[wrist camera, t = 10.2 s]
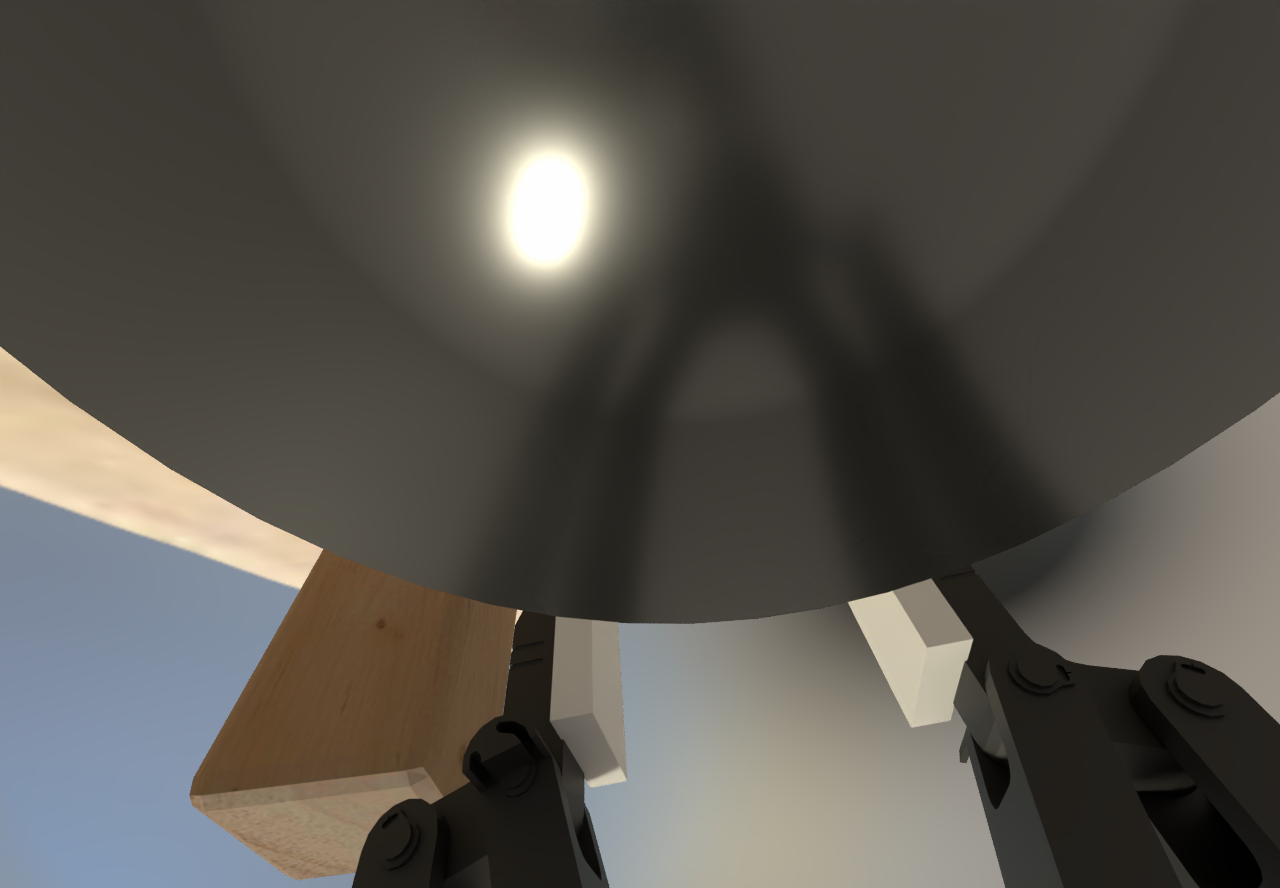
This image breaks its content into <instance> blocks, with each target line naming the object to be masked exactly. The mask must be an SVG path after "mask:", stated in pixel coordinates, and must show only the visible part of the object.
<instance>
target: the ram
mask: <svg viewBox="0 0 1280 888" xmlns="http://www.w3.org/2000/svg"><path fill="white" fill-rule="evenodd" d="M0 346H1V347H2V348H3V349H4V350H6V351H7V352H8V353H9V354H11V355H12V356H13V357H14V358H16V359H17V360H18V361H19V362H21V363H22V364H23V365H25V366H26V367H27V368H28V369H30V370H31V371H32V372H33V373H35V374H36V375H37V376H38V377H40V378H41V379H42V380H44V381H45V382H46V383H47V384H49V385H50V386H51V387H52V388H54V389H55V390H56V391H57V392H59V393H60V394H61V395H63V396H64V397H65V398H66V399H68V400H69V401H70V402H72V403H73V404H75V405H76V406H78V407H79V408H81V409H82V410H84V411H85V412H87V413H88V414H90V415H91V416H93V417H94V418H95V419H97V420H98V421H100V422H101V423H103V424H104V425H106V426H107V427H109V428H110V429H112V430H113V431H115V432H116V433H118V434H119V435H121V436H122V437H124V438H125V439H127V440H128V441H130V442H131V443H133V444H134V445H136V446H137V447H138V448H140V449H141V450H143V451H144V452H146V453H147V454H149V455H150V456H152V457H153V458H155V459H156V460H158V461H159V462H161V463H162V464H164V465H165V466H167V467H168V468H170V469H171V470H173V471H175V472H177V473H179V474H180V475H182V476H184V477H186V478H187V479H189V480H191V481H193V482H194V483H196V484H198V485H200V486H202V487H203V488H205V489H207V490H209V491H210V492H212V493H214V494H216V495H217V496H219V497H221V498H223V499H225V500H226V501H228V502H230V503H232V504H233V505H235V506H237V507H239V508H241V509H242V510H244V511H246V512H248V513H249V514H251V515H253V516H255V517H256V518H258V519H260V520H262V521H264V522H267V523H269V524H271V525H273V526H275V527H277V528H280V529H282V530H284V531H286V532H288V533H290V534H293V535H295V536H297V537H299V538H301V539H303V540H306V541H308V542H310V543H312V544H314V545H316V546H319V547H321V548H323V549H325V550H327V551H329V552H332V553H334V554H336V555H338V556H340V557H342V558H345V559H348V560H351V561H353V562H356V563H359V564H362V565H364V566H367V567H370V568H373V569H375V570H378V571H381V572H384V573H387V574H389V575H392V576H395V577H398V578H400V579H403V580H406V581H409V582H411V583H414V584H417V585H420V586H423V587H427V588H431V589H435V590H438V591H442V592H446V593H449V594H453V595H457V596H461V597H464V598H468V599H472V600H476V601H479V602H483V603H487V604H490V605H495V606H501V607H507V608H512V609H518V610H523V611H529V612H535V613H540V614H546V615H551V616H557V617H565V618H576V619H587V620H598V621H608V622H620V623H674V624H677V623H678V624H681V623H682V624H683V623H684V624H690V623H691V624H694V623H706V622H720V621H733V620H745V619H758V618H764V617H771V616H776V615H783V614H789V613H796V612H801V611H808V610H814V609H821V608H825V607H829V606H834V605H838V604H842V603H846V602H850V601H854V600H859V599H863V598H867V597H871V596H875V595H879V594H884V593H888V592H891V591H894V590H897V589H900V588H903V587H906V586H909V585H912V584H916V583H919V582H922V581H925V580H928V579H931V578H934V577H937V576H940V575H944V574H947V573H950V572H953V571H956V570H958V569H960V568H963V567H965V566H968V565H970V564H973V563H975V562H978V561H980V560H983V559H985V558H988V557H990V556H993V555H995V554H998V553H1000V552H1002V551H1005V550H1008V549H1010V548H1013V547H1015V546H1018V545H1020V544H1022V543H1025V542H1027V541H1029V540H1031V539H1033V538H1035V537H1037V536H1039V535H1041V534H1043V533H1045V532H1047V531H1049V530H1052V529H1053V528H1056V527H1058V526H1060V525H1062V524H1064V523H1066V522H1068V521H1070V520H1072V519H1074V518H1076V517H1078V516H1080V515H1082V514H1084V513H1086V512H1089V511H1091V510H1093V509H1095V508H1097V507H1098V506H1100V505H1102V504H1104V503H1105V502H1107V501H1109V500H1111V499H1113V498H1114V497H1116V496H1118V495H1119V494H1121V493H1123V492H1125V491H1126V490H1128V489H1130V488H1132V487H1133V486H1135V485H1137V484H1139V483H1141V482H1142V481H1144V480H1146V479H1148V478H1149V477H1151V476H1153V475H1155V474H1156V473H1158V472H1160V471H1162V470H1164V469H1165V468H1167V467H1169V466H1171V465H1172V464H1174V463H1175V462H1177V461H1178V460H1180V459H1182V458H1183V457H1184V456H1186V455H1188V454H1189V453H1191V452H1192V451H1194V450H1195V449H1197V448H1198V447H1200V446H1201V445H1203V444H1204V443H1206V442H1208V441H1209V440H1211V439H1212V438H1214V437H1215V436H1217V435H1218V434H1220V433H1221V432H1223V431H1224V430H1226V429H1227V428H1229V427H1230V426H1232V425H1233V424H1235V423H1237V422H1238V421H1240V420H1241V419H1243V418H1244V417H1246V416H1247V415H1249V414H1250V413H1252V412H1253V411H1255V410H1256V409H1258V408H1259V407H1260V406H1262V405H1263V404H1264V403H1266V402H1267V401H1268V400H1270V399H1271V398H1272V397H1274V396H1275V395H1276V394H1278V393H1279V392H1280V0H0Z"/></svg>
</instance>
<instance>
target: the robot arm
mask: <svg viewBox="0 0 1280 888" xmlns="http://www.w3.org/2000/svg"><path fill="white" fill-rule="evenodd" d="M848 603H849V605H850V607H851V609H852V611H853V613H854V615H855V617H856V619H857V621H858V623H859V625H860V627H861V629H862V631H863V633H864V635H865V637H866V639H867V641H868V643H869V645H870V647H871V649H872V651H873V653H874V655H875V657H876V659H877V661H878V663H879V665H880V667H881V669H882V671H883V673H884V675H885V677H886V679H887V681H888V682H889V685H890V686H891V689H892V691H893V693H894V695H895V697H896V699H897V700H898V702H899V704H900V706H901V708H902V710H903V712H904V714H905V716H906V718H907V720H908V722H909V724H910V726H911V728H912V727H917V726H923V725H928V724H934V723H939V722H944V721H949V720H950V719H951V716H952V712H953V709H954V706H955V707H956V709H957V710H958V712H959V714H960V716H961V718H962V719H963V721H964V723H965V724H966V726H967V728H966V731H965V734H964V737H963V740H962V743H961V746H960V750H959V752H960V762H962V763H967V760H968V757H969V756H970V760H971V764H972V767H973V771H974V775H975V778H976V782H977V786H978V789H979V793H980V796H981V800H982V803H983V807H984V811H985V815H986V818H987V822H988V826H989V829H990V833H991V837H992V840H993V844H994V847H995V851H996V855H997V858H998V862H999V865H1000V870H1001V873H1002V877H1003V881H1004V884H1005V888H1280V724H1279V723H1278V722H1277V721H1276V720H1275V719H1273V717H1271V716H1270V715H1269V714H1268V713H1267V712H1266V711H1265V710H1264V709H1263V708H1262V707H1261V706H1260V705H1259V704H1258V703H1257V702H1256V701H1255V700H1254V699H1253V698H1252V697H1251V696H1250V695H1249V694H1248V693H1247V692H1246V691H1245V690H1244V689H1243V688H1242V687H1240V686H1239V685H1238V684H1237V683H1235V682H1234V681H1233V680H1231V679H1230V678H1229V677H1227V676H1226V675H1225V674H1224V673H1222V672H1220V671H1218V670H1216V669H1214V668H1212V667H1210V666H1208V665H1206V664H1204V663H1202V662H1200V661H1196V660H1193V659H1189V658H1185V657H1181V656H1169V655H1159V656H1156V657H1154V658H1151V659H1148V660H1146V661H1145V663H1144V664H1143V666H1142V668H1141V669H1140V670H1139V671H1136V670H1127V669H1118V668H1108V667H1099V666H1090V665H1084V664H1079V663H1074V662H1071V661H1068V660H1065V659H1064V658H1063V657H1061V656H1060V655H1059V654H1058V653H1056V652H1054V651H1052V650H1050V649H1048V648H1046V647H1044V646H1041V645H1039V644H1036V643H1035V642H1033V641H1032V640H1031V639H1030V638H1029V637H1028V636H1027V635H1026V634H1025V633H1024V631H1023V630H1022V629H1021V628H1020V627H1019V625H1018V624H1017V623H1016V621H1015V620H1014V619H1013V618H1012V616H1011V615H1010V614H1009V613H1008V611H1007V610H1006V609H1005V608H1004V607H1003V605H1002V604H1001V603H1000V602H999V600H998V599H997V598H996V596H995V595H994V594H993V593H992V592H991V590H990V589H989V588H988V586H987V585H986V584H985V583H984V582H983V580H982V579H981V578H980V576H979V575H976V573H975V570H974V569H973V568H972V566H971V565H968V566H965V567H963V568H960V569H958V570H956V571H953V572H950V573H947V574H944V575H940V576H937V577H934V578H931V579H928V580H925V581H922V582H919V583H916V584H912V585H909V586H906V587H903V588H900V589H897V590H894V591H891V592H888V593H884V594H879V595H875V596H871V597H867V598H863V599H859V600H854V601H850V602H848ZM512 649H513V651H512V652H511V659H510V669H509V674H508V682H507V689H506V697H505V704H504V712H503V715H502V716H499V717H495V718H494V719H492V720H491V721H489V722H488V723H486V724H485V725H483V726H482V727H481V728H480V729H479V730H478V732H477V733H476V734H475V735H474V737H473V738H472V739H471V740H470V742H469V745H468V747H467V749H466V752H465V754H464V756H463V766H462V773H463V774H464V775H465V776H466V777H467V778H468V779H469V780H470V782H468V783H467V784H465V785H464V786H462V787H460V788H458V789H457V790H455V791H453V792H451V793H450V794H448V795H446V796H444V797H443V798H441V799H439V800H437V801H436V802H434V803H432V804H429V803H428V802H426V801H425V800H423V799H407V800H405V801H402V802H400V803H398V804H396V805H394V806H393V807H391V808H390V809H389V810H388V811H387V812H386V813H384V814H383V815H382V816H381V817H380V818H379V820H378V821H377V822H376V824H375V825H374V827H373V828H372V829H371V831H370V832H369V834H368V836H367V839H366V841H365V844H364V846H363V849H362V851H361V854H360V858H359V862H358V866H357V870H356V874H355V878H354V882H353V886H352V888H609V884H608V880H607V877H606V873H605V870H604V865H603V862H602V858H601V854H600V851H599V847H598V843H597V840H596V836H595V832H594V828H593V825H592V821H591V817H590V813H589V812H588V809H587V807H586V805H585V803H584V778H585V779H586V781H587V783H588V784H589V786H590V787H597V786H602V785H607V784H613V783H618V782H624V781H627V768H626V751H625V734H624V716H623V699H622V682H621V665H620V648H619V630H618V622H608V621H598V620H587V619H576V618H565V617H557V616H551V615H546V614H540V613H535V612H529V611H523V612H522V614H521V615H520V617H519V619H518V621H517V623H516V625H515V629H514V637H513V644H512Z"/></svg>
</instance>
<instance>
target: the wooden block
mask: <svg viewBox="0 0 1280 888" xmlns="http://www.w3.org/2000/svg"><path fill="white" fill-rule="evenodd" d="M516 612H517V609H512V608H507V607H501V606H495V605H490V604H487V603H483V602H479V601H476V600H472V599H468V598H464V597H461V596H457V595H453V594H449V593H446V592H442V591H438V590H435V589H431V588H427V587H423V586H420V585H417V584H414V583H411V582H409V581H406V580H403V579H400V578H398V577H395V576H392V575H389V574H387V573H384V572H381V571H378V570H375V569H373V568H370V567H367V566H364V565H362V564H359V563H356V562H353V561H351V560H348V559H345V558H342V557H340V556H338V555H336V554H334V553H332V552H329V551H327V550H325V549H323V551H322V553H321V555H320V556H319V558H318V560H317V562H316V563H315V565H314V567H313V569H312V570H311V572H310V574H309V576H308V577H307V579H306V581H305V583H304V584H303V586H302V588H301V590H300V592H299V593H298V595H297V597H296V599H295V600H294V602H293V604H292V606H291V607H290V609H289V611H288V613H287V615H286V616H285V618H284V620H283V621H282V623H281V625H280V627H279V628H278V630H277V632H276V634H275V635H274V637H273V639H272V641H271V643H270V644H269V646H268V648H267V650H266V651H265V653H264V655H263V657H262V659H261V660H260V662H259V664H258V666H257V667H256V669H255V671H254V673H253V674H252V676H251V678H250V679H249V681H248V683H247V685H246V687H245V688H244V690H243V692H242V694H241V695H240V697H239V699H238V701H237V702H236V704H235V706H234V708H233V709H232V711H231V713H230V715H229V717H228V718H227V720H226V722H225V724H224V726H223V727H222V729H221V731H220V733H219V734H218V736H217V738H216V740H215V741H214V743H213V745H212V746H211V748H210V750H209V752H208V753H207V755H206V757H205V759H204V760H203V762H202V764H201V766H200V767H199V770H198V771H197V773H196V774H195V776H194V779H193V783H192V786H191V791H190V799H191V802H192V805H193V806H194V807H195V808H196V809H198V810H199V811H200V812H202V813H203V814H205V815H206V816H207V817H208V818H210V819H211V820H213V821H214V822H215V823H216V824H218V825H219V826H221V827H222V828H223V829H225V830H226V831H227V832H229V833H230V834H231V835H233V836H234V837H235V838H237V839H238V840H239V841H241V842H242V843H243V844H245V845H246V846H247V847H249V848H250V849H252V850H253V851H254V852H255V853H257V854H258V855H260V856H261V857H262V858H264V859H265V860H266V861H268V862H269V863H270V864H272V865H273V866H274V867H276V868H277V869H278V870H280V871H281V872H282V873H284V874H285V875H287V876H289V877H291V878H294V879H296V880H301V879H308V878H317V877H324V876H332V875H340V874H347V873H356V870H357V866H358V862H359V858H360V854H361V851H362V849H363V846H364V844H365V841H366V839H367V836H368V834H369V832H370V831H371V829H372V828H373V827H374V825H375V824H376V822H377V821H378V820H379V818H380V817H381V816H382V815H383V814H384V813H386V812H387V811H388V810H389V809H390V808H391V807H393V806H394V805H396V804H398V803H400V802H402V801H405V800H407V799H423V800H425V801H426V802H428V803H429V804H432V803H434V802H436V801H437V800H439V799H441V798H443V797H444V796H446V795H448V794H450V793H451V792H453V791H455V790H457V789H458V788H460V787H462V786H464V785H465V784H467V783H468V782H470V780H469V779H468V778H467V777H466V776H465V775H464V774H463V773H462V766H463V756H464V754H465V752H466V749H467V747H468V745H469V742H470V740H471V739H472V738H473V737H474V735H475V734H476V733H477V732H478V730H479V729H480V728H481V727H482V726H483V725H485V724H486V723H488V722H489V721H491V720H492V719H494V718H495V717H499V716H502V715H503V708H504V701H505V694H506V686H507V679H508V671H509V664H510V656H511V649H512V641H513V634H514V626H515V619H516Z"/></svg>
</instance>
